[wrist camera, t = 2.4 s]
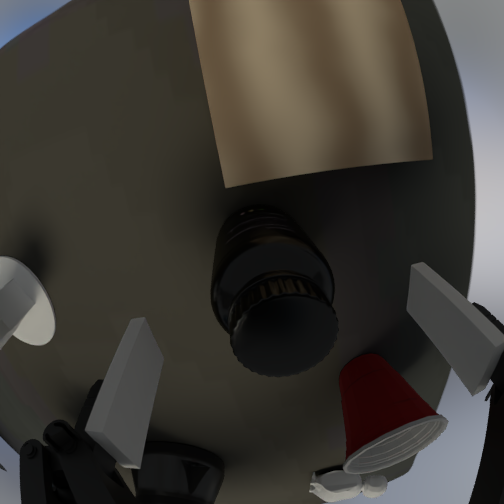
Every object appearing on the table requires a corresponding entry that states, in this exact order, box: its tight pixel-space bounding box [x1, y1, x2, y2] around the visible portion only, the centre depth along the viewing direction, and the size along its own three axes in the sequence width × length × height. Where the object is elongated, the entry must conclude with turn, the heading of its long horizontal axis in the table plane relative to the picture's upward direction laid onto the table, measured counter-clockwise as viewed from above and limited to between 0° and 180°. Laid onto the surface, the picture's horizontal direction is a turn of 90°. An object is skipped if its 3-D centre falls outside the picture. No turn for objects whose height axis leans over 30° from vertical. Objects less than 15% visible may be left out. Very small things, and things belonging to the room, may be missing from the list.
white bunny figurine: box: [309, 470, 387, 502], centre depth 38 cm, size 9×8×15 cm
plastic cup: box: [339, 353, 448, 474], centre depth 24 cm, size 11×11×12 cm
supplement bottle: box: [211, 205, 339, 377], centre depth 17 cm, size 7×7×12 cm
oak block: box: [189, 0, 433, 188], centre depth 16 cm, size 15×15×4 cm
